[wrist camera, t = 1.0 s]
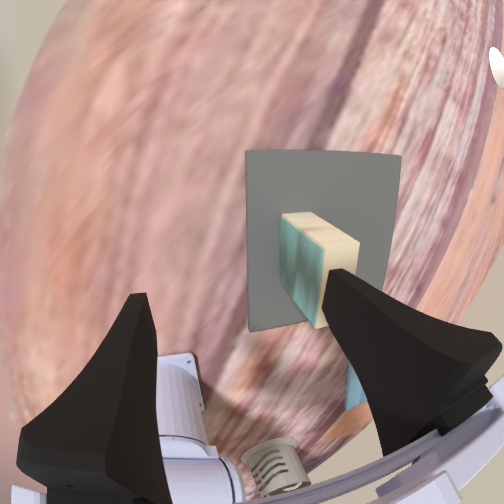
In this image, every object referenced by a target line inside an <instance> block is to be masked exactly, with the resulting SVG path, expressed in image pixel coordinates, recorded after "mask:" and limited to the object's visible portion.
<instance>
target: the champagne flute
mask: <svg viewBox="0 0 504 504" xmlns="http://www.w3.org/2000/svg"><path fill="white" fill-rule="evenodd" d="M489 60H490V66H491V70H492V74H493V76H494V79H495V81H496V83H497V84H498V86H499V87H501V88H504V58H503V56H502V55H501V54H500V52H499V51H498V50H497V49H496V48H495V47H492V48H491V49H490V52H489Z"/></svg>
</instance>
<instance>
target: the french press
mask: <svg viewBox="0 0 504 504" xmlns="http://www.w3.org/2000/svg"><path fill="white" fill-rule="evenodd" d="M298 444H299V443H298V441H297V439H294V438H292V437H280V438H275V439H271V440H267V441H265V442H262V443H259V444H257V445H255V446H253V447H251V448H250V449H248V450H247V451H246V452H245V453H244V454H243V455H242V457H241V461H242V462H243V463H244V464H246V465H248V466H250V469H251V472H252V474H253V477H254V480H255V483H256V485H257V488H258V489H257V490H256V492H255V494H254V500H255V496H256V493H257V492H258V490H259V493H260V496H261V498H265V497H267V496H266V494H268V493H269V495H270V496H274V495H278V494H282V493H286V492H290V491H293V490H290V491H283V490H282V488H289V487H293V486H295V485H297V483H299V482H302V484H301V485H300V486H299V487H298V488H297V489H301V488H304V487H307V486H310V485H311V482H310V480H309V478H308V476H307V474H306V472H305V470H304V468H303V466H302V464H301V462H300V459H299V457H298V455H297V453H296V451H295V450H296V448H297V446H298ZM284 469H288V471H287V472H284V473H276V472H277V471H280V470H284ZM259 470H260V472H261V473H260V474H259V475H258V473H257V472H258V471H259ZM261 477H263V480H262V481H260V478H261ZM264 483H265V485H266V487H265V488H264V489H263V484H264ZM297 489H294V490H297Z"/></svg>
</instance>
